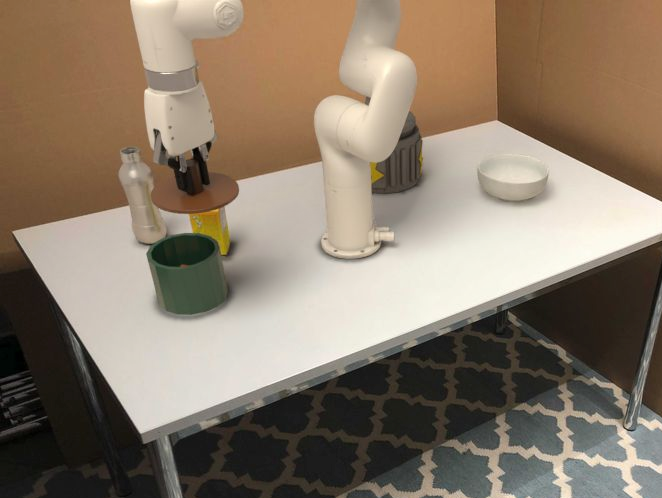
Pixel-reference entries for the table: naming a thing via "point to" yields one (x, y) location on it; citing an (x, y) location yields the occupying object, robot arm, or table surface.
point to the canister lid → (195, 192)
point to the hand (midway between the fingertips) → (194, 186)
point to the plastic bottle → (140, 196)
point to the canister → (187, 273)
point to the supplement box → (213, 227)
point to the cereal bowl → (512, 176)
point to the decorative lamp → (399, 161)
